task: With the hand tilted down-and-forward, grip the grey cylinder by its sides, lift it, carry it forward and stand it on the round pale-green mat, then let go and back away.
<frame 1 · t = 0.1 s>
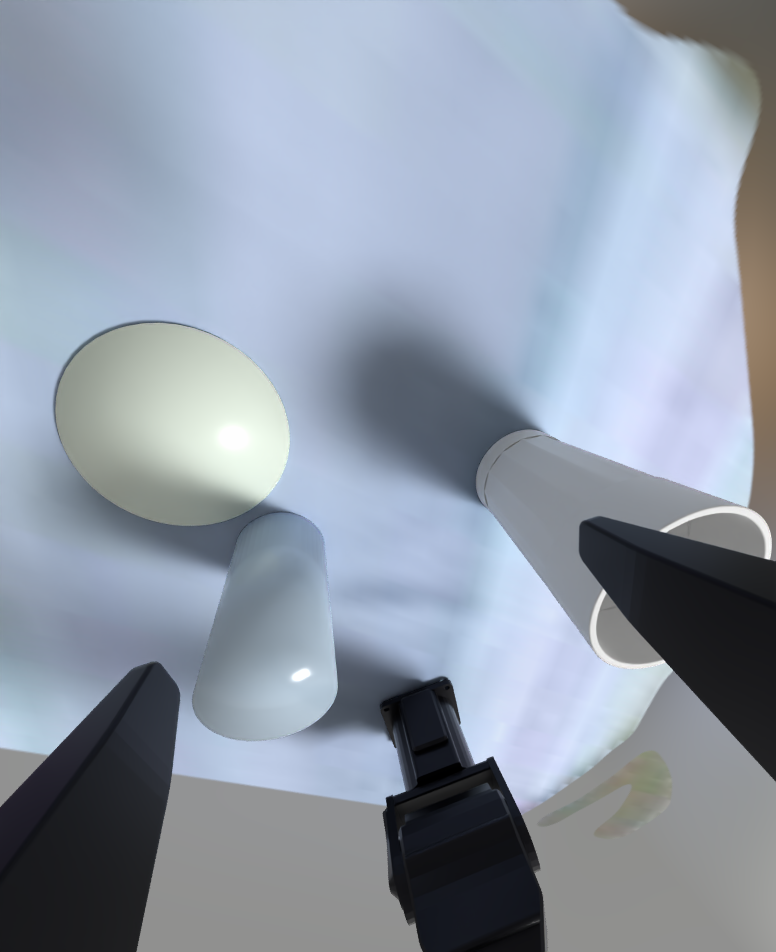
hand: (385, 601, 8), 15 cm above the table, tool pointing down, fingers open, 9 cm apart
grey cylinder: (281, 549, 23), on the table
mat: (182, 435, 19), on the table
cup: (517, 472, 25), on the table
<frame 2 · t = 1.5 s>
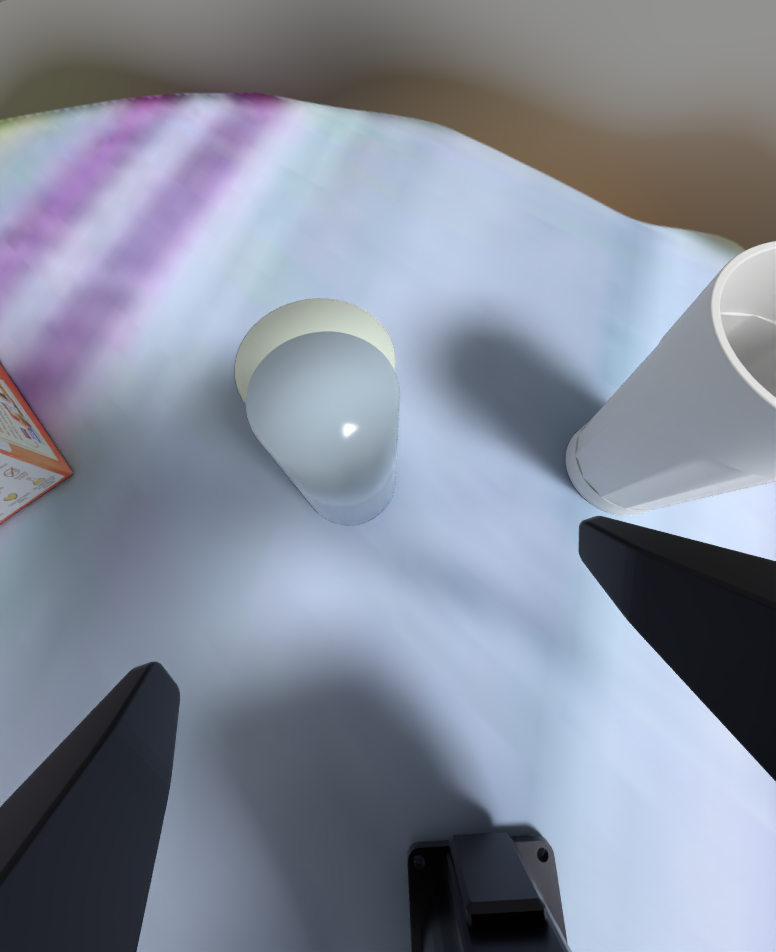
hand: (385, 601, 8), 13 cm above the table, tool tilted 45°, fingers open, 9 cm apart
grey cylinder: (350, 481, 23), on the table
mat: (315, 362, 25), on the table
cup: (614, 467, 23), on the table
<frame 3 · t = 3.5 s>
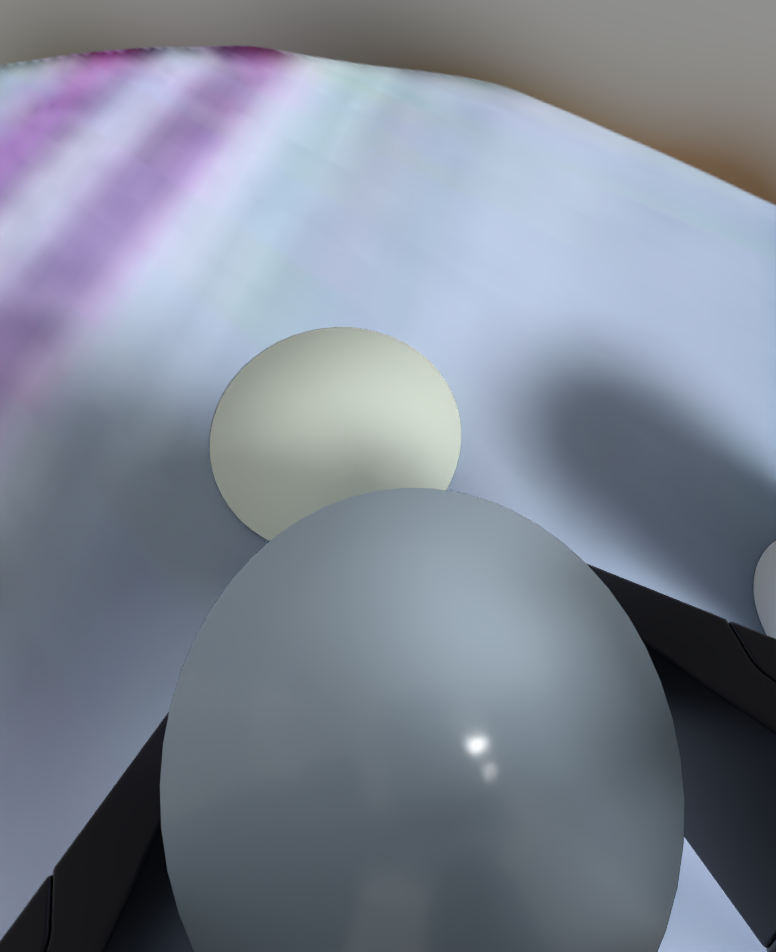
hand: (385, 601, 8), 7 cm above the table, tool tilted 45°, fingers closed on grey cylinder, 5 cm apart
grey cylinder: (398, 641, 13), on the table, touching gripper
mat: (336, 429, 16), on the table
when the fingers open (8 cm above the table, at t = 6.5 s): grey cylinder drops 1 cm, resting on mat.
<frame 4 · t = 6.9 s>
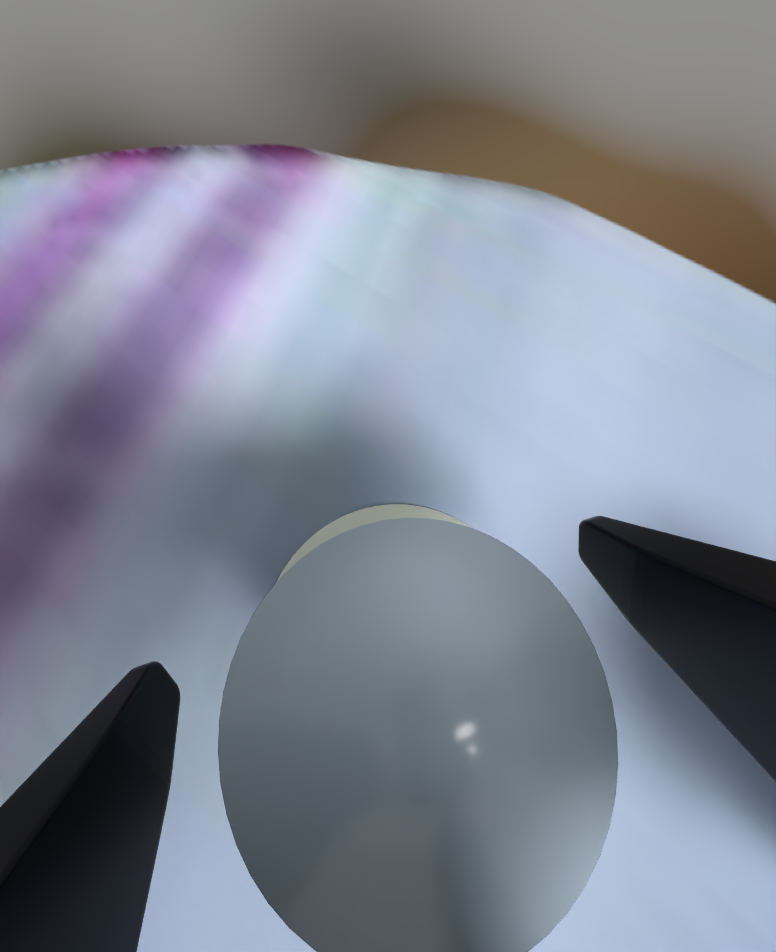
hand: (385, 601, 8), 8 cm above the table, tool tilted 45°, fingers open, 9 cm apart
grey cylinder: (398, 641, 15), resting on mat
mat: (397, 637, 15), on the table
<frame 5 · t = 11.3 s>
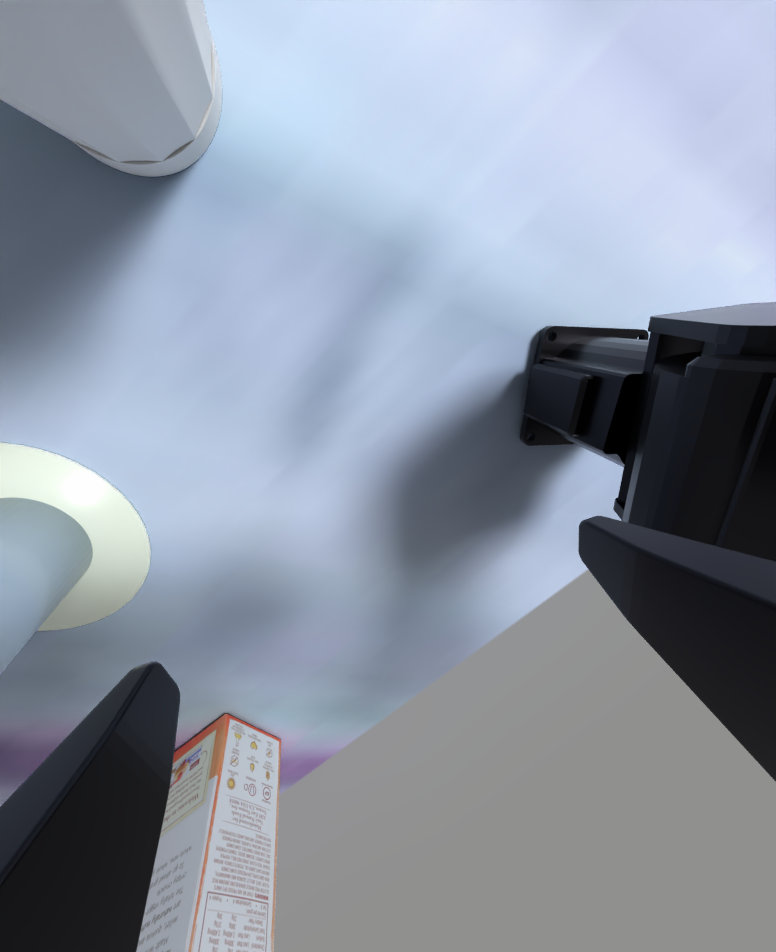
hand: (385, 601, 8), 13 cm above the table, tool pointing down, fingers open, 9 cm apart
grey cylinder: (27, 546, 18), resting on mat
mat: (26, 545, 18), on the table
cup: (125, 64, 13), on the table
cracker box: (191, 771, 28), on the table
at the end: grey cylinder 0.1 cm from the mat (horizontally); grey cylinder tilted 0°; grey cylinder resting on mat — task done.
